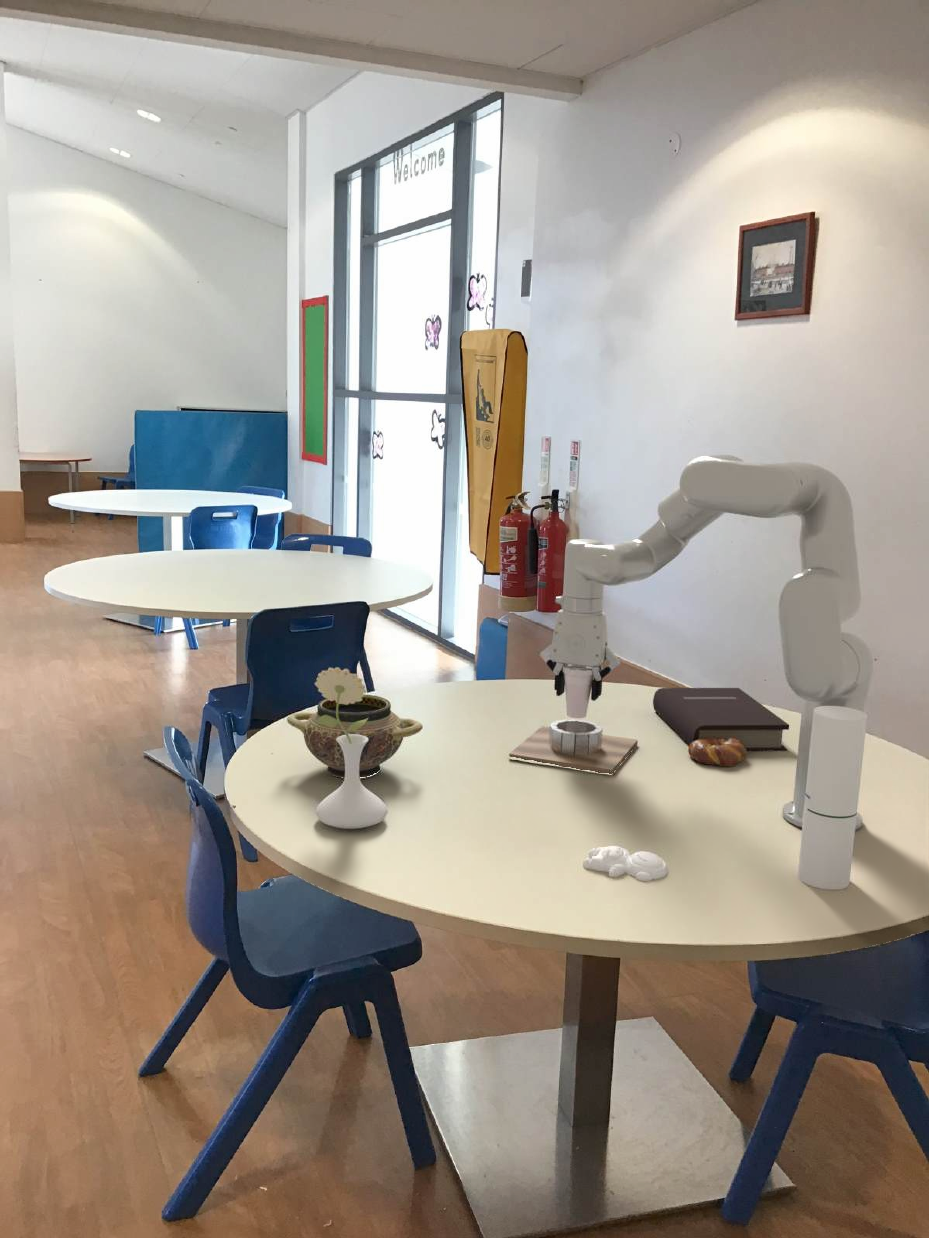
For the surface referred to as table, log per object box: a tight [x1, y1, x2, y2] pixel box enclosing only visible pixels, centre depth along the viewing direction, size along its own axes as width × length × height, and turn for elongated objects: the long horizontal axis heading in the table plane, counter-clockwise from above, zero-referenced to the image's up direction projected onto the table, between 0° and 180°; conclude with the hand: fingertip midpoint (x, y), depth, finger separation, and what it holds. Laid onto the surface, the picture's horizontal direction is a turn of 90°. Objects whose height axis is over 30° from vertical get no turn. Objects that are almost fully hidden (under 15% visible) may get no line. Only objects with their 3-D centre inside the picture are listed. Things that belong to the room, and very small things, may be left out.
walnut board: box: [508, 725, 639, 774], centre depth 209 cm, size 20×20×1 cm
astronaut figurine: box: [582, 845, 668, 882], centre depth 158 cm, size 9×12×3 cm
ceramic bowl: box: [286, 694, 423, 778], centre depth 193 cm, size 24×18×15 cm
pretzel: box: [687, 738, 748, 768], centre depth 208 cm, size 12×11×4 cm
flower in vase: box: [314, 666, 388, 830], centre depth 170 cm, size 13×11×25 cm
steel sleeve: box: [549, 718, 603, 755], centre depth 209 cm, size 10×10×4 cm
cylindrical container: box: [797, 706, 868, 891], centre depth 153 cm, size 7×7×25 cm
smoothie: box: [563, 664, 594, 719], centre depth 206 cm, size 6×6×14 cm
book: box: [652, 687, 790, 752], centre depth 226 cm, size 28×20×6 cm
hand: (577, 695), depth 207 cm, fingers closed on smoothie, 6 cm apart
